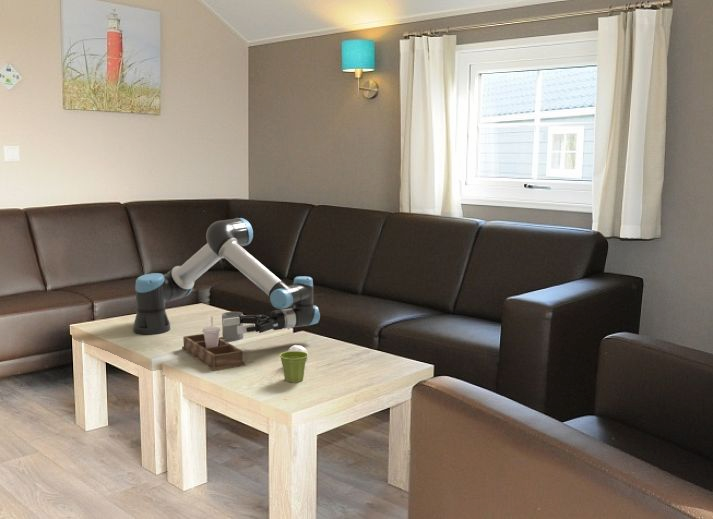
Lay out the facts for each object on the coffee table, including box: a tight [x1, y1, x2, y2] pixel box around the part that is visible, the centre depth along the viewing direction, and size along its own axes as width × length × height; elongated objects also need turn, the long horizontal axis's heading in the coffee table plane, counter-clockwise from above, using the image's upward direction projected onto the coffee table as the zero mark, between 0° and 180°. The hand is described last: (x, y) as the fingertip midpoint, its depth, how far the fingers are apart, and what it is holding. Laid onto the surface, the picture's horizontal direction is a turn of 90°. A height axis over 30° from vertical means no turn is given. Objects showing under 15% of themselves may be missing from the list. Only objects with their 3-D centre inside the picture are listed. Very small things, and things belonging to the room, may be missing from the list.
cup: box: [221, 311, 244, 342], centre depth 295 cm, size 8×8×10 cm
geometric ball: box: [286, 344, 309, 364], centre depth 257 cm, size 8×8×8 cm
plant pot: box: [279, 351, 309, 383], centre depth 242 cm, size 9×9×9 cm
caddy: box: [181, 333, 246, 371], centre depth 269 cm, size 32×12×5 cm, turn 32°
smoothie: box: [202, 316, 221, 348], centre depth 268 cm, size 6×6×14 cm
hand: (230, 326), depth 271 cm, fingers open, 13 cm apart
